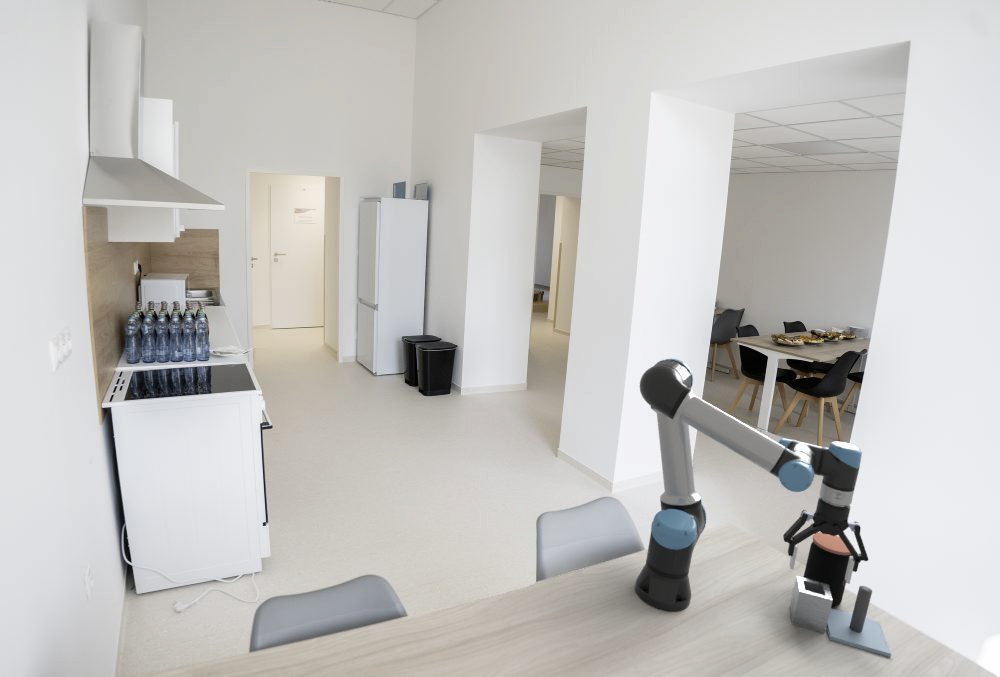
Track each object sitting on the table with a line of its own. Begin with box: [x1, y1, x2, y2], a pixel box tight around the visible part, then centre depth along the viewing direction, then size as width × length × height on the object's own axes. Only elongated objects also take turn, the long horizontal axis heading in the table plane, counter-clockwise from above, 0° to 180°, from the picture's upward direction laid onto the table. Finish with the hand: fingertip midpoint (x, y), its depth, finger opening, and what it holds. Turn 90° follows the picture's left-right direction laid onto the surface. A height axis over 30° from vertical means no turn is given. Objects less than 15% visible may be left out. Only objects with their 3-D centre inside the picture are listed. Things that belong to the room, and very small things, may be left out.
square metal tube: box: [789, 575, 833, 635], centre depth 169 cm, size 8×8×10 cm
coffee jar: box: [803, 532, 854, 609], centre depth 180 cm, size 11×11×18 cm
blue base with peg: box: [826, 585, 892, 658], centre depth 166 cm, size 14×14×13 cm
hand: (818, 573), depth 167 cm, fingers open, 13 cm apart
